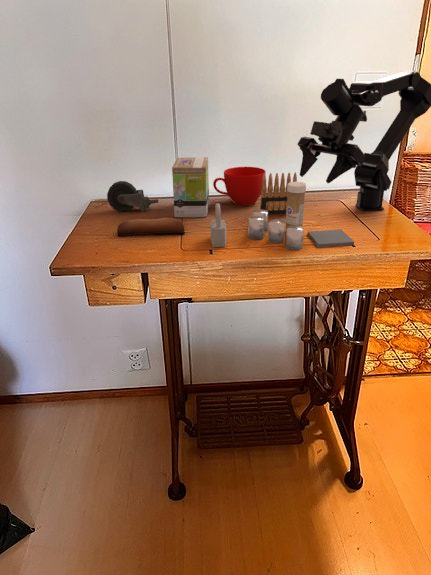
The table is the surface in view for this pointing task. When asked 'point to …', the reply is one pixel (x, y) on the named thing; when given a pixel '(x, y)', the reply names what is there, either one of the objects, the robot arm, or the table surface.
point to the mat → (330, 238)
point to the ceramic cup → (242, 184)
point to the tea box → (190, 187)
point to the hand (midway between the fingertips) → (313, 179)
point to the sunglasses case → (150, 226)
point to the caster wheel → (127, 197)
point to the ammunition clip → (275, 194)
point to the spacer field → (275, 230)
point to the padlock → (218, 229)
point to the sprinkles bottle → (295, 204)
